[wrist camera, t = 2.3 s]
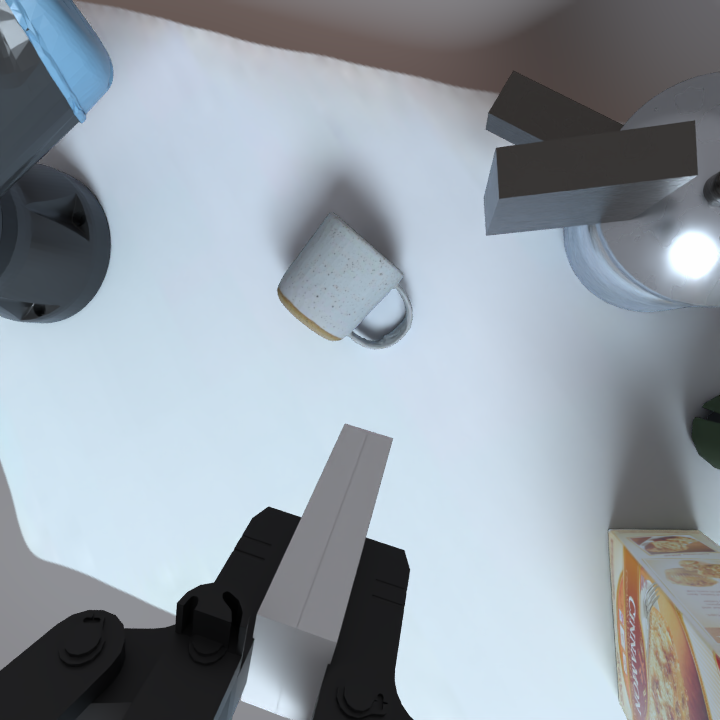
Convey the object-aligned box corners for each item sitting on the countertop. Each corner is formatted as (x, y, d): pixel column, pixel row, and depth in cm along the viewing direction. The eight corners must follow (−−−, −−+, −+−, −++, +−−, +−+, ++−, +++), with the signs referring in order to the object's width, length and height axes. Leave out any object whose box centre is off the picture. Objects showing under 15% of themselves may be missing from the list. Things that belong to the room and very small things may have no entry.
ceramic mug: (287, 294, 44) (255, 285, 36) (344, 222, 43) (323, 198, 35) (375, 370, 43) (360, 378, 35) (436, 299, 42) (434, 291, 34)
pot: (446, 222, 41) (446, 190, 32) (524, 78, 40) (546, 2, 31) (734, 365, 38) (822, 372, 29) (832, 213, 36) (956, 171, 27)
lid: (838, 61, 28) (1020, -70, 19) (848, 297, 28) (1032, 277, 19) (477, 116, 32) (488, 27, 23) (490, 324, 32) (506, 317, 23)
